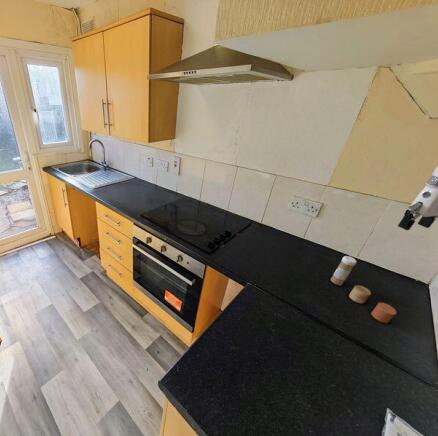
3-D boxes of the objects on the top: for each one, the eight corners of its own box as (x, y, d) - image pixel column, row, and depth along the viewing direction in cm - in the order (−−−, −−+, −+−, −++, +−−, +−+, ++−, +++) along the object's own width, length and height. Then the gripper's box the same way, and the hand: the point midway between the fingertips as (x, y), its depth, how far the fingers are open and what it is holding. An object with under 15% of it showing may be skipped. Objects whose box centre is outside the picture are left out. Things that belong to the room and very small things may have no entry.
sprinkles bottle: (335, 277, 105) (349, 254, 98) (345, 284, 101) (359, 261, 94) (327, 279, 104) (340, 256, 97) (336, 286, 100) (351, 263, 93)
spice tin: (355, 292, 97) (361, 284, 94) (367, 302, 93) (374, 293, 90) (345, 294, 96) (351, 286, 93) (357, 304, 92) (364, 295, 89)
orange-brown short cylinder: (377, 310, 89) (384, 301, 87) (392, 321, 85) (400, 312, 82) (367, 312, 88) (374, 303, 86) (382, 324, 84) (389, 315, 81)
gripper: (440, 188, 69) (407, 235, 78) (479, 185, 73) (443, 230, 81) (411, 180, 76) (383, 223, 84) (448, 178, 79) (417, 220, 88)
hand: (413, 227), depth 83 cm, fingers open, 9 cm apart
